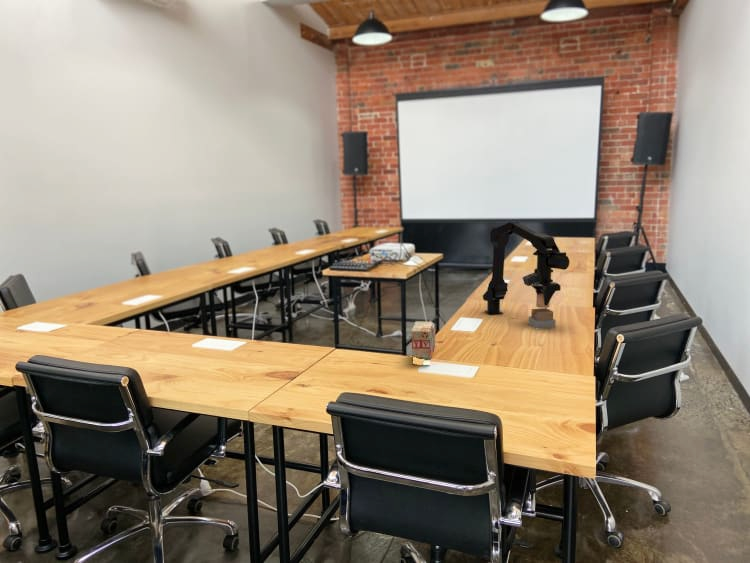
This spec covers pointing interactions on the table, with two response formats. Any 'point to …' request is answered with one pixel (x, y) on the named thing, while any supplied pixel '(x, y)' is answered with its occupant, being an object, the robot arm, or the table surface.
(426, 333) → the cardboard box
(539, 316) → the tower top
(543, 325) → the tower base
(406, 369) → the table surface
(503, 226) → the robot arm
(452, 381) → the table surface
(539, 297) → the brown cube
